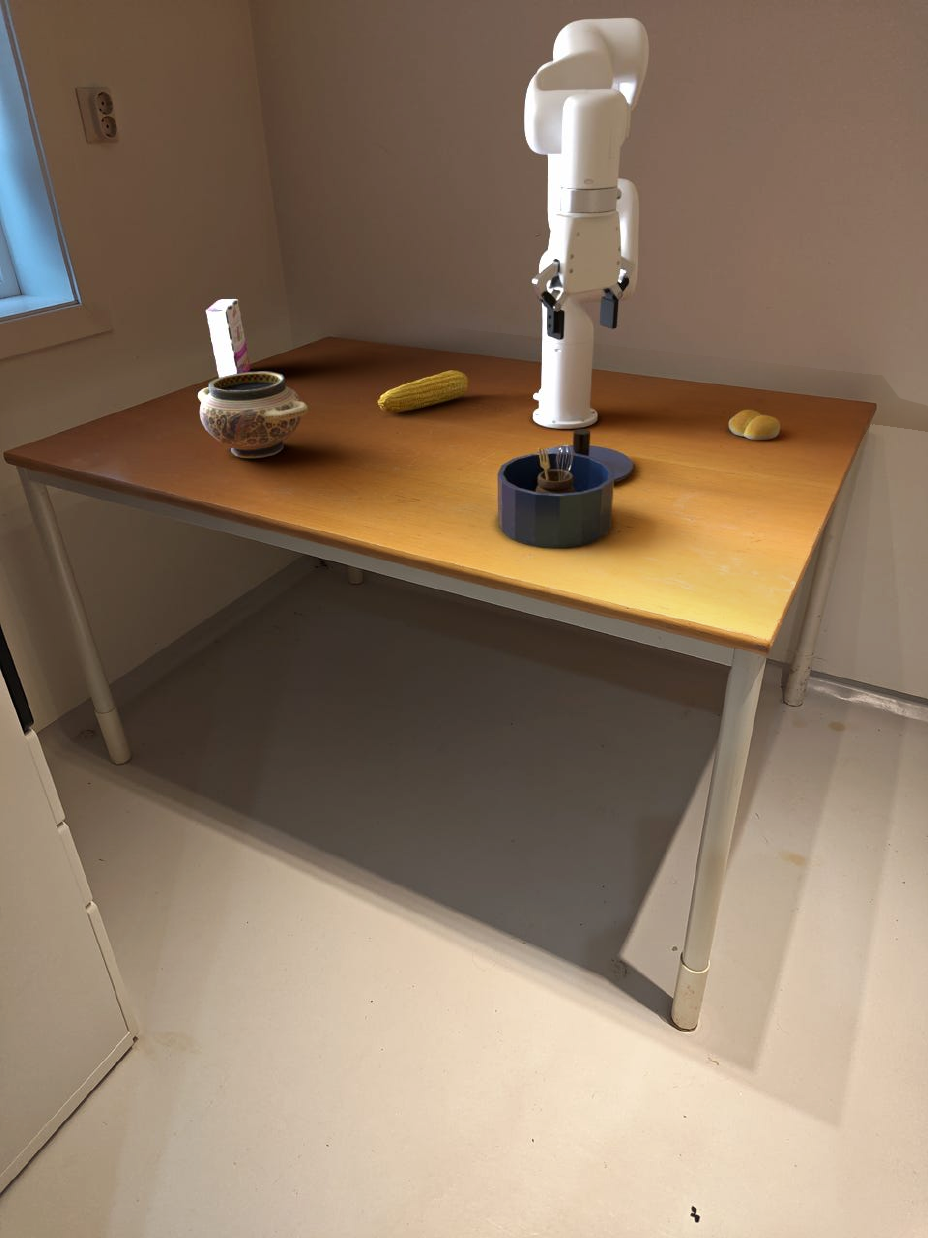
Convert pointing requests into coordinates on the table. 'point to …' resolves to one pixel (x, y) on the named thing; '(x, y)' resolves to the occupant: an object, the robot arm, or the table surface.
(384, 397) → the food
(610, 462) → the tin lid
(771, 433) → the bread roll
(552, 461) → the tin
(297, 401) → the ceramic bowl
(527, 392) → the table surface
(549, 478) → the utensil holder
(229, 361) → the candy bar box
